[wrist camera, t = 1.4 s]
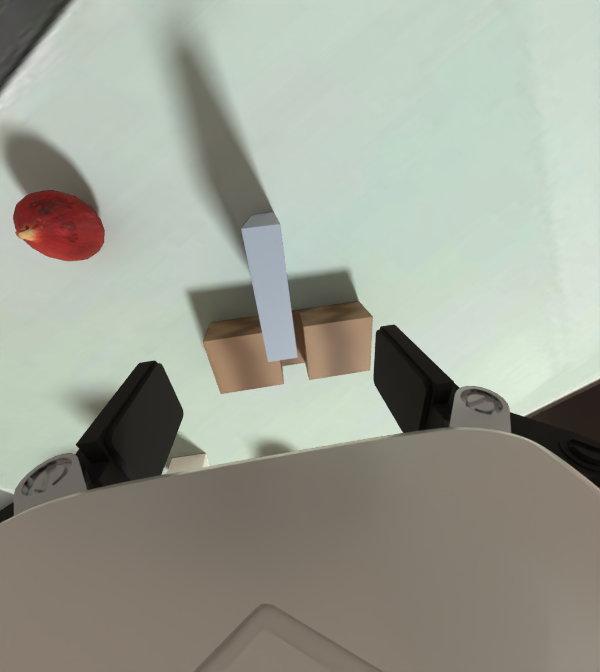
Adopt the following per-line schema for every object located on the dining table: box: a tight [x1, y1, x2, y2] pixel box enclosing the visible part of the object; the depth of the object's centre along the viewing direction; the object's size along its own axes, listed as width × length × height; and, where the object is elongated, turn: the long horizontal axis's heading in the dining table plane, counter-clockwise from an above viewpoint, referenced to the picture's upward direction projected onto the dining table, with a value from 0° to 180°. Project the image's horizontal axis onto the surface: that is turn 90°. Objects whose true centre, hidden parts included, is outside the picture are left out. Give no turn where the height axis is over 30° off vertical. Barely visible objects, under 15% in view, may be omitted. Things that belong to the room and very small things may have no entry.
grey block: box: [241, 212, 298, 362], centre depth 24 cm, size 2×10×14 cm, turn 6°
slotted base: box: [203, 301, 373, 394], centre depth 33 cm, size 20×8×5 cm, turn 96°
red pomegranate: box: [13, 190, 105, 261], centre depth 22 cm, size 6×6×8 cm
